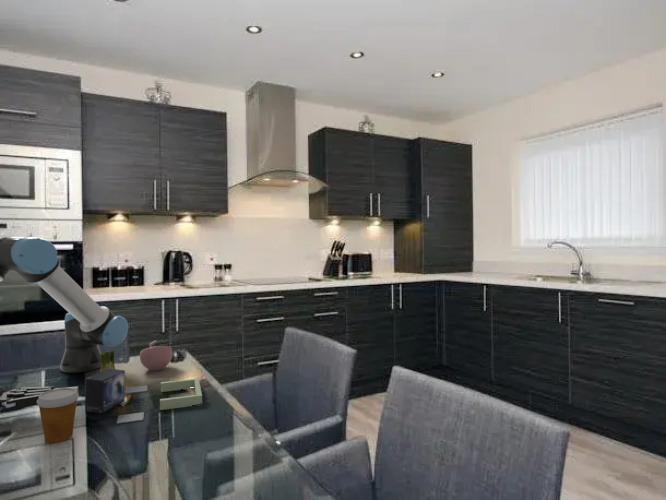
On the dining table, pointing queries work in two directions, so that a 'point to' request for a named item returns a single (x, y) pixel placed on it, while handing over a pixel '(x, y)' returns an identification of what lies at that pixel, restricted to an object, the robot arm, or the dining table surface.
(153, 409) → the dining table surface
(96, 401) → the small box
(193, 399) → the track
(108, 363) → the fennel bulb
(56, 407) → the disposable coffee cup
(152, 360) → the mortar and pestle
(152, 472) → the dining table surface
